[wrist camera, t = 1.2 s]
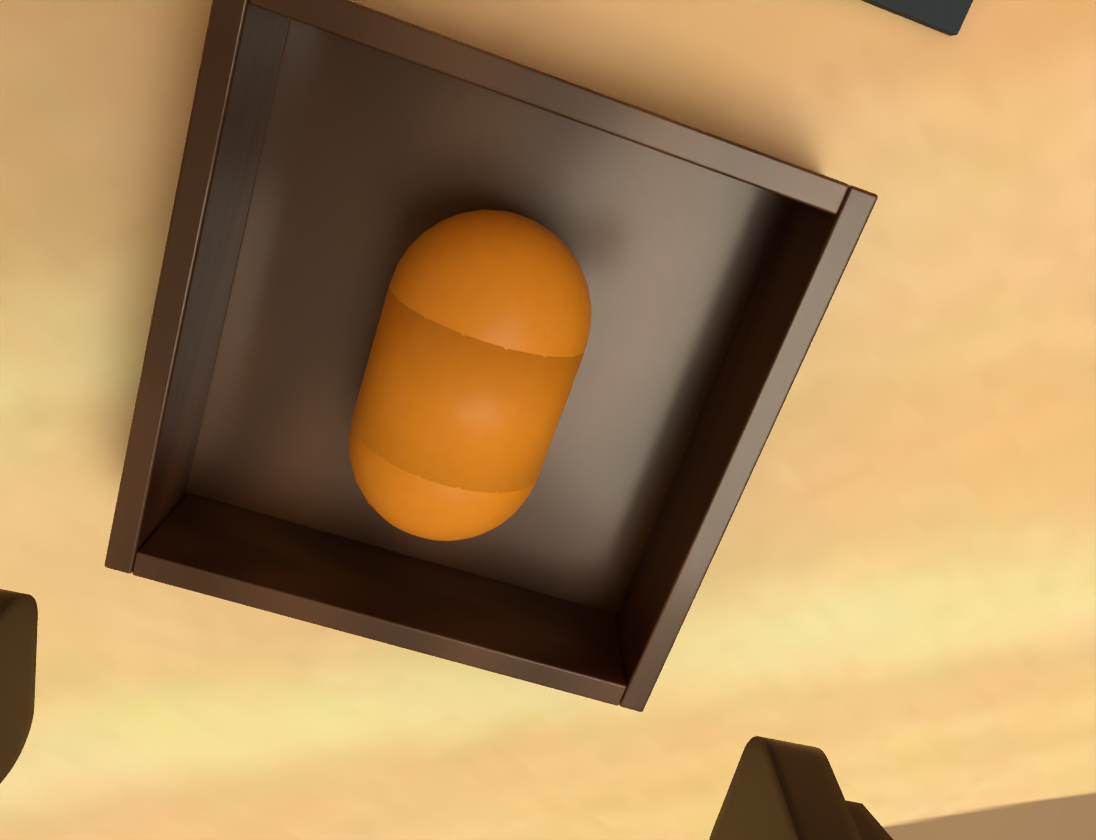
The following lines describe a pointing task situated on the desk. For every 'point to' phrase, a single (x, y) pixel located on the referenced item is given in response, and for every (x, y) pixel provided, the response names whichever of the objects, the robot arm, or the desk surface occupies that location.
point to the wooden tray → (353, 316)
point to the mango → (468, 374)
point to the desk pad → (929, 12)
